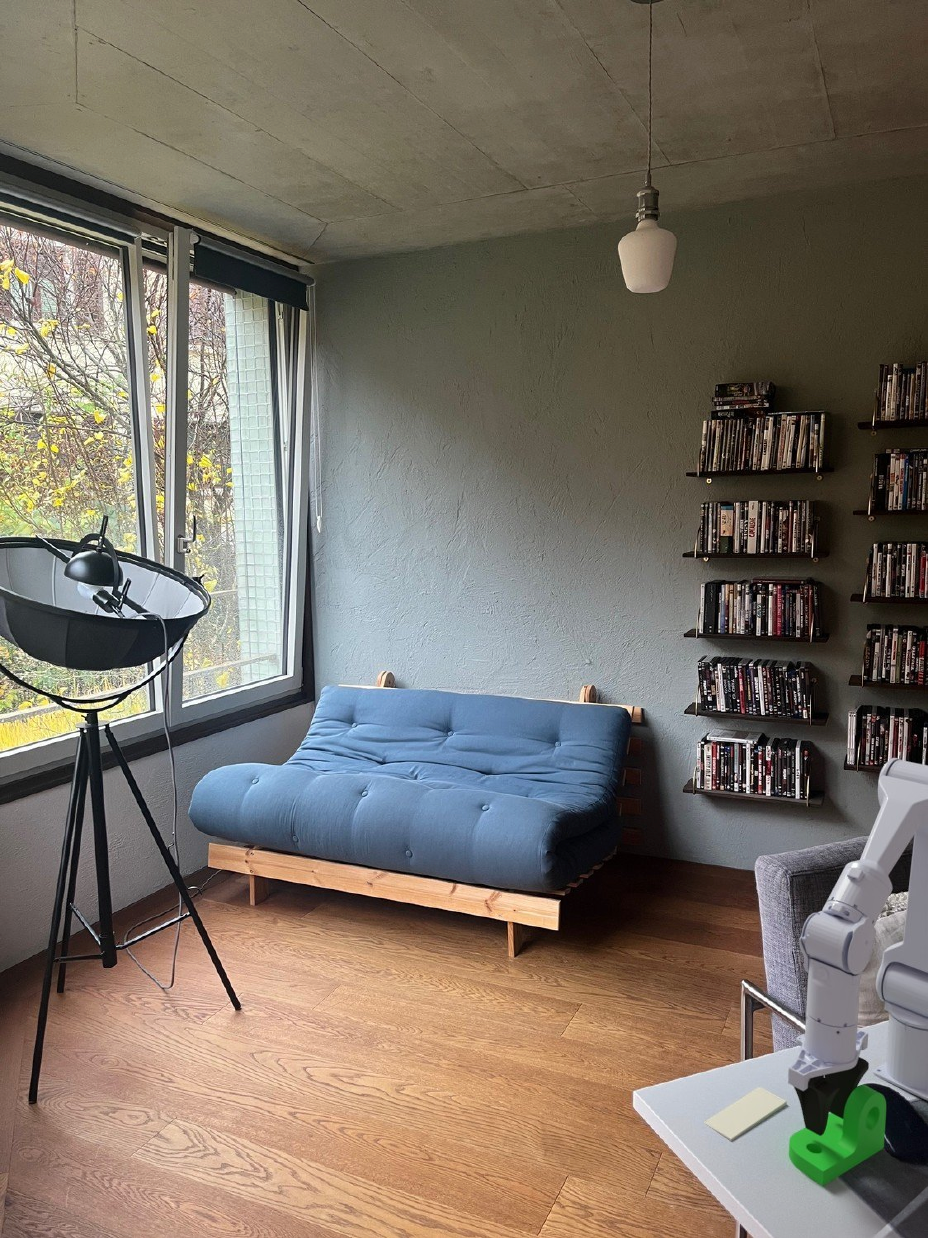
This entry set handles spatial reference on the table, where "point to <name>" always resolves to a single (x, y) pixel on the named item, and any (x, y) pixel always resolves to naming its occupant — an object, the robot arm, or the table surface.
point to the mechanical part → (842, 1138)
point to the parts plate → (745, 1113)
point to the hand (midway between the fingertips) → (825, 1122)
